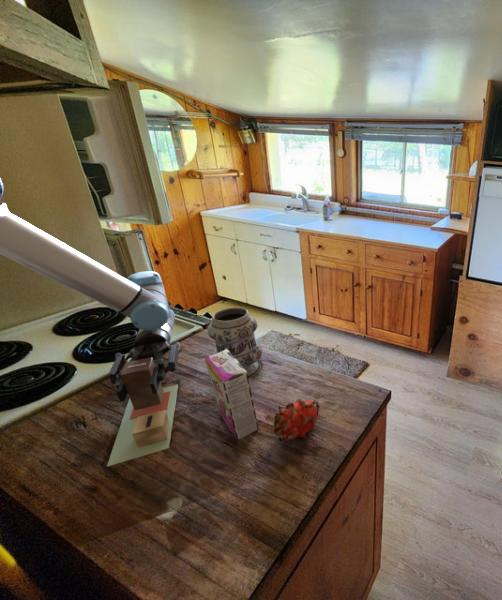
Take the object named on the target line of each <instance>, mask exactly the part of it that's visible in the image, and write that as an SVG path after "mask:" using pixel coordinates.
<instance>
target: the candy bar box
mask: <svg viewBox="0 0 502 600" xmlns="http://www.w3.org/2000/svg"><path fill="white" fill-rule="evenodd" d="M204 362H205V364H206V368H207V372H208V376H209V379H210V383H211V386H212V390H213V394H214V396H215V401H216V405H217V408H218V413H219V415H220V416H221V418H222V419H223V421H224V422H225V424H226V426H227V427H228V429H229V430H230V431H231V433H232V434H233V436H234V438H235V439H236V440H237V441H239V440H241V439H243V438H244V437H247V436H248V435H250V434H252V433H254V432H256V431H258V430H259V424H258V417H257V413H256V409H255V405H254V399H253V394H252V390H251V385H250V381H249V378H248V374H247V371H246V370H245V369H244V368H243V367H242V366H241V364H240V363H239V362H238V361H237V360H236V359H235V357H234V356H233V355H232V354H231V353H230V352H229V351H228V349H226V350H223V351H221V352H217V353H215V352H214V353H213V354H208V355H206V356H205V357H204Z"/></svg>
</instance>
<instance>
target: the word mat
mask: <svg viewBox="0 0 502 600" xmlns="http://www.w3.org/2000/svg"><path fill="white" fill-rule="evenodd" d="M162 387H163V390H164V392H163V397H162V402H161V404H159V405H155V406H151V407H147V408H143V409H139V410H134V407H133V405H132V402H131V400H130V397H129V398H128V401H127V404H126V407H125V410H124V413H123V417H122V420H121V422H120V426H119V429H118V432H117V435H116V438H115V440H114V444H113V447H112V450H111V453H110V456H109V459H108V462H107V465H106V467H107V468H108V467H110V466H114V465H117V464H121V463H123V462H128V461H131V460H134V459H137V458H141V457H144V456H147V455H150V454H151V455H152V454H154V453H158V452H160V451H161V452H162V451H164V450H167V449H170V443H171V437H172V431H173V424H174V417H175V409H176V403H177V396H178V395H177V394H178V391H179V390H178V388H179V383H177V384H172V385H168V386H162ZM163 410H165V411H166V414H167V416H168V419H169V422H170V426H169V432H168V439H167V440H165V441H161V442H158V443H154V444H151V445H147V446H144V447H140V448H138V446H137V444H136V441H135V439H134V437H133V434H132V433H133V430H134V426H135V423H136V419H137V417H139V416H143V415H147V414H151V413H155V412H159V411H163Z"/></svg>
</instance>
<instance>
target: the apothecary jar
mask: <svg viewBox="0 0 502 600" xmlns="http://www.w3.org/2000/svg"><path fill="white" fill-rule="evenodd" d="M257 328H258V321H257V319H256V318H255V317H254V316H252V315H250V312H249V310H248V309H246V308H245V307H237V306H236V307H228V308H223V309H220V310H217V311H215V313H213V314H212V316H211V322H210V323H209V325H208V326H207V335H208V337H209V338H210V339H211V340H213V341H214V342H215V346H216V350H215V351H214V354H215V353H217V352H221V351H223V350H226V349H228V351H229V352H230V353H231V354H232V355H233V356H234V357H235V359H236V360H237V361H238V362H239V363H240V364H241V366H242V367H243V368H244V369H245V370H246V371H247V374H248V379H249V378H254V377H255V376H256V375H258V374H259V372H261V369H262V365H261V362H259V360H260V358H261V357H262V355H263V346H262V345H261V343H259V342H258V341H257V339H256V335H255V332H256V330H257Z"/></svg>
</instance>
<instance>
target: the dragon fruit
mask: <svg viewBox="0 0 502 600" xmlns="http://www.w3.org/2000/svg"><path fill="white" fill-rule="evenodd" d="M319 411H320V404H319V402H318V401H317V400H315V399H314V398H311V399H308V400H302V398H298V399H297V400H296V401H295V402H294V401H292V402H288V404H286V406H285V407H284V406H281V405H280V406H278V412H275V415H274V420H273V424H272V425H273V427H274V429H273V433H274V435H276V436H278V441H279V442H285V441H294V439H295V438H299V439H303V440H305V439H306V438H307V433H309V432H310V431H311V430H313V429H314V427H315V425H316V423H317V421H318V419H319V418H320V414H319V413H320V412H319Z"/></svg>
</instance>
